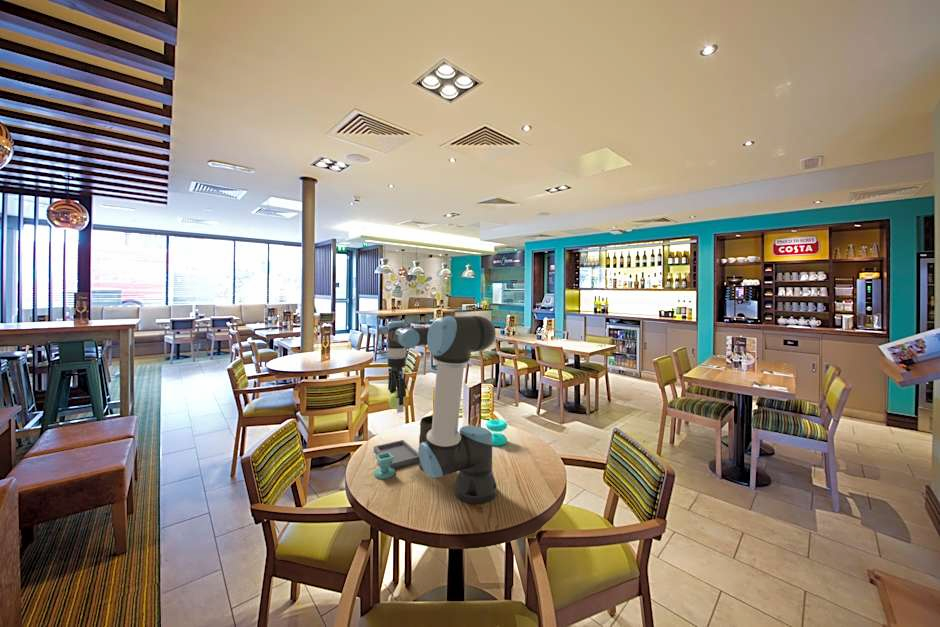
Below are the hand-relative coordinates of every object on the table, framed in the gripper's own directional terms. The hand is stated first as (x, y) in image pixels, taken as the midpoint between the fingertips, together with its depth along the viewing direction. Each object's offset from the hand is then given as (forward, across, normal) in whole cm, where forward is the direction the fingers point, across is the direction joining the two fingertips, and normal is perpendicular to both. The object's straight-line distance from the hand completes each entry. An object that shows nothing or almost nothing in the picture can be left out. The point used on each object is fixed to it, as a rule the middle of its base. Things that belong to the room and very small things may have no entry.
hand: (396, 409), depth 159 cm
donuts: (+21, -11, -46) cm, 52 cm away
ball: (-4, 0, 0) cm, 4 cm away
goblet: (+21, -12, +10) cm, 26 cm away
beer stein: (+21, -18, -10) cm, 29 cm away
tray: (+21, 0, 0) cm, 21 cm away
